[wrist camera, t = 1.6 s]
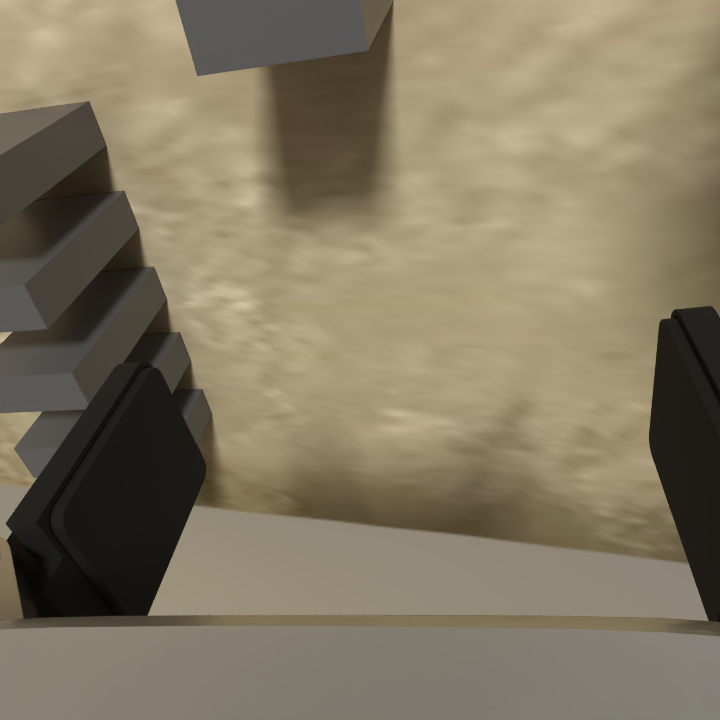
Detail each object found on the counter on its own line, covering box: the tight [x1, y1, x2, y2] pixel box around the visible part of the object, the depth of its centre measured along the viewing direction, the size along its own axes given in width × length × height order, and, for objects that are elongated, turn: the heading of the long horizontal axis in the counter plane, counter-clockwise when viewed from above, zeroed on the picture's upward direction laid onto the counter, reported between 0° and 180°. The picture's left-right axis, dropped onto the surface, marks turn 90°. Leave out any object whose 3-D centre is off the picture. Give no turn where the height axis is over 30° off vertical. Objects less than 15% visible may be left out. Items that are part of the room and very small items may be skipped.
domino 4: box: [14, 332, 191, 478], centre depth 33 cm, size 2×5×9 cm, turn 99°
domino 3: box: [0, 267, 167, 413], centre depth 30 cm, size 2×5×9 cm, turn 99°
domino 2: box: [0, 191, 139, 332], centre depth 28 cm, size 2×5×9 cm, turn 99°
